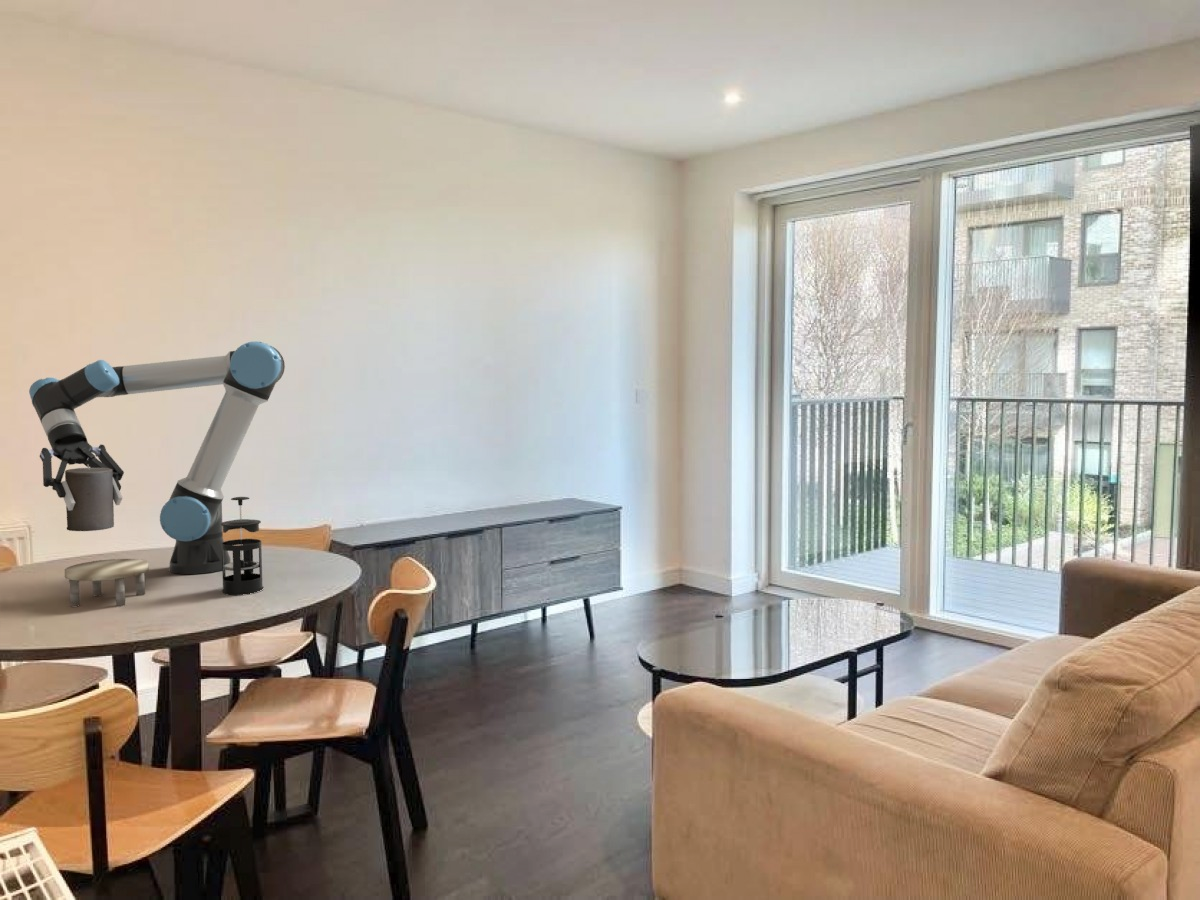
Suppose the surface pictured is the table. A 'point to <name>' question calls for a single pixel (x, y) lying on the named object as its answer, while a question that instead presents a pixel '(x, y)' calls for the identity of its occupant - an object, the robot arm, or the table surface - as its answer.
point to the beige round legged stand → (106, 576)
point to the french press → (242, 558)
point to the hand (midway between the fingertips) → (96, 504)
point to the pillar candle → (90, 499)
